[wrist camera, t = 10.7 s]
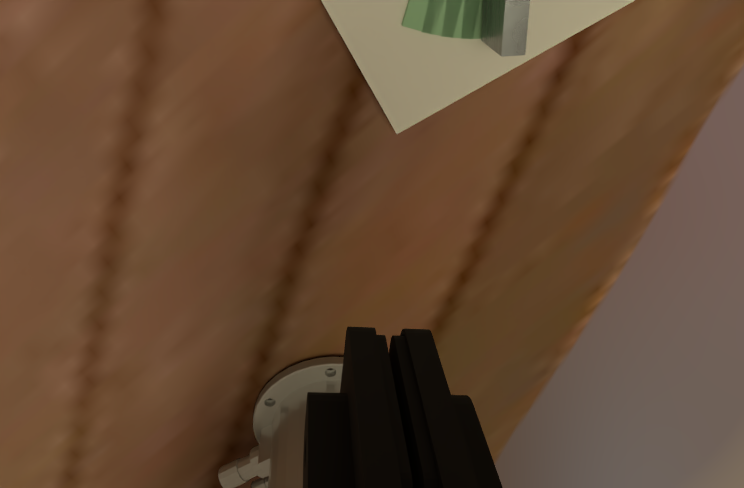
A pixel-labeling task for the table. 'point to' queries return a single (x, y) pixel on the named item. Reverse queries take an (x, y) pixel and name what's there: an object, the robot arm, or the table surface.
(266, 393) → the robot arm
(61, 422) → the table surface
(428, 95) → the dial board
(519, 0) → the grey rectangular bar
